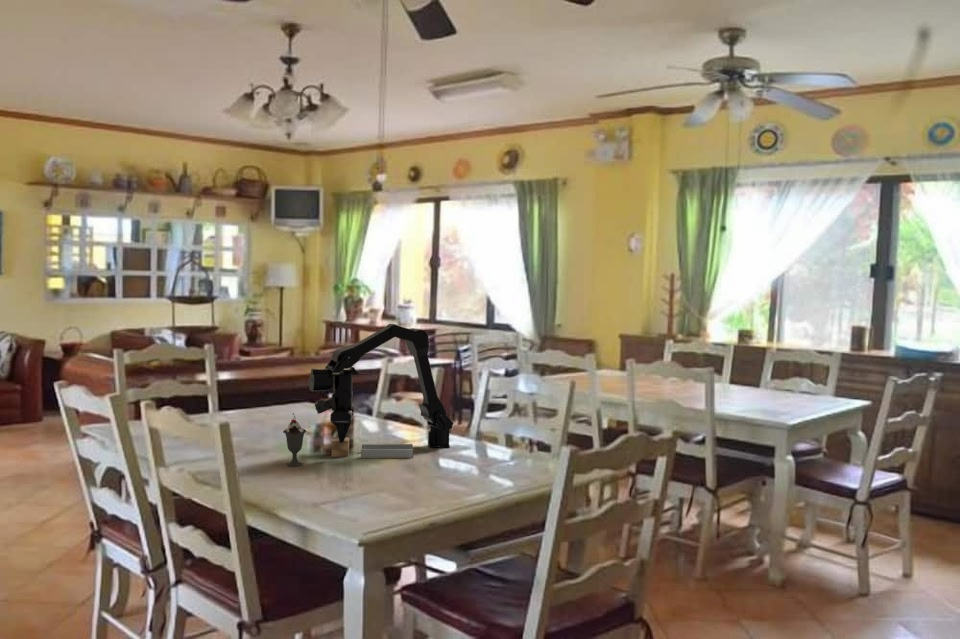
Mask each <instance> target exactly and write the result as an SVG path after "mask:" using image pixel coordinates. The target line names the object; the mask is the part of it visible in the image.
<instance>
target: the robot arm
mask: <svg viewBox="0 0 960 639" xmlns="http://www.w3.org/2000/svg"><path fill="white" fill-rule="evenodd" d="M394 338H396V339H399V340H403V341H405V344H406V347H407V349H408V350H409V352H410V354H411V355H412V357H413V359H414V364H415V368H416V371H417V377H418V381H419V384H420V390H421V393H422V394H421V395H422V403H419V404H418V408H419V410H420V416H421V417H423V419H424V421H426V422H427V423H426V424H427V425H428V426H429V430H428V431H427V434H428V435H427V444H428V445H429V448H450V447H451V446H450V430H452V428H453V426H454V422H453V421H452V420H451V419H450V418H449V416H447V411H446V409H445V407H444V404H443V402H442V401H441V399H440V398H439V396H438V393H437V389H436V385H435V380H434V376H433V372H432V368H431V363H430V360H429V349H430V340H429V335H428V333H427V331H425V330H423V329H419V328H413V327H412V328H407V327H403V326H400V325H399V324H395V323H389V324H387V325H386V326H385V327H383V328H381V329H379V330H377V331H376V332H373V333H372V334H370V335H368V336H367V337H364V339H361V340H360V341H358V342H356V343H354V344H349V345H346V346H342V347H339V348H337V349H335V350H333V352H332V356H331V359H330V361H329V362H328V363H327V365H325V367H324V368H311V369H310V373H309V375H308V376H309V378H308V382H307V383H308V389H309V392H320V391H321V392H325V391H330V390H331V389H332V388H333V392H332V394H331V396H330V397H327V398H325V399H324V398H321V399H318V400H317V401H316V402H315V403H314V407H315V410H316V413H317V414H322V413H324V412H327V411H329V410H331V411H332V412H330V413H331V414H330V416H329V417H330V420H329V421H330V422H331V424H333V425H334V426H335V428H336V432H337V436H338V438H339V442H340V443H343V442H344V439H345V438H347V437H346V436H347V435H348V434H347V433H348V431H349V429H350V426H351V423H352V420H353V417H354V414H355V405H354V403H353V394H354V393H353V376H358V375H360V372H359V371H358V370H356V368H355V366H354V365H356V364H357V363H358V362H360V360H361V359H362V358H363V357H364V356H365V355H367V353H370V352H372V351H373V350H374V349H376V348H379V347H380V346H382V345H383V344H386V343H387V342H390V341H391V340H392V339H394ZM353 366H354V367H353Z"/></svg>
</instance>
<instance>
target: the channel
mask: <svg viewBox="0 0 960 639" xmlns="http://www.w3.org/2000/svg"><path fill="white" fill-rule="evenodd" d="M413 446H414V445H413V443H361V449H360V458H361V459H362V458H364V459H370V458H371V459H372V458H373V459H374V458H375V459H378V458H382V459H385V458H386V459H387V458H389V459H391V458H392V459H394V458H396V459H397V458H398V459H401V458H402V459H406V458H407V459H408V458H409V459H412V458H413V459H414V448H413Z"/></svg>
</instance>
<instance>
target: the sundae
mask: <svg viewBox="0 0 960 639" xmlns="http://www.w3.org/2000/svg"><path fill="white" fill-rule="evenodd" d="M292 415H293V418H292V419H291V421H290V422H289V424H288V426H287V428H285V429H284V430H283V433H284V434H285V438H286V444H287V449H288V451H289V453H290V452H291V454H292V459H291V461H290V462H286V464H285V466H287V467H293V468H296V467H301V466H304V463H303V462H301V461H299V460H298V456H297V455H298V453H299V452H300V451H301V450H302V447H303V443H304V442H303V441H304V435H305V434H306V433H307V430H306V429H305V428H302V427H301V425H300V423H299V422H298V420H296V415H295V413H292Z"/></svg>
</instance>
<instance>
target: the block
mask: <svg viewBox="0 0 960 639" xmlns="http://www.w3.org/2000/svg"><path fill="white" fill-rule="evenodd" d="M349 454H350V437H345V439H344V442H343V443H340V442H339V437H336V436H335V437H332V439H331V457H333V458H334V457H337V458H338V457H346V458H347V457H349Z"/></svg>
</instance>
